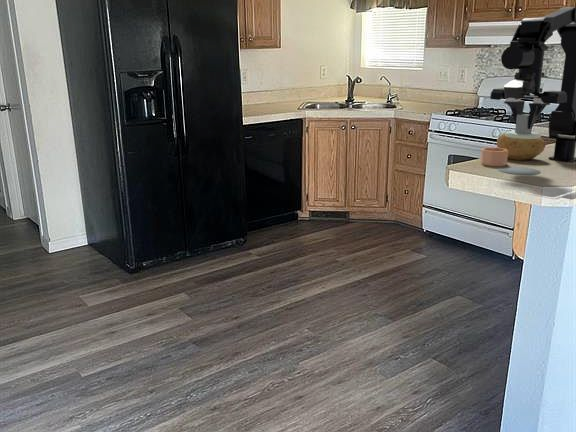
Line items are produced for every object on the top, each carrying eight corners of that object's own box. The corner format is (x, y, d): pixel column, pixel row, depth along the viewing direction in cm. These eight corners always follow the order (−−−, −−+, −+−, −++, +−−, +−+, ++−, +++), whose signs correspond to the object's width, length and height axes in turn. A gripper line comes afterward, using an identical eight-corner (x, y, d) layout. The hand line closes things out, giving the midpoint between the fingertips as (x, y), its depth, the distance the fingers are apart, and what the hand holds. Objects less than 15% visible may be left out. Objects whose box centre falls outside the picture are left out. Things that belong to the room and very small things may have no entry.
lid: (516, 132, 156) (518, 112, 154) (547, 136, 149) (550, 114, 148) (498, 136, 151) (500, 114, 149) (529, 139, 144) (532, 117, 142)
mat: (511, 166, 160) (511, 165, 160) (548, 172, 152) (548, 171, 152) (489, 171, 154) (489, 170, 154) (527, 178, 146) (527, 177, 146)
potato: (537, 165, 162) (540, 138, 160) (490, 159, 171) (492, 133, 169) (548, 160, 169) (551, 134, 167) (502, 155, 178) (504, 130, 176)
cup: (489, 161, 168) (490, 146, 167) (510, 164, 163) (512, 149, 161) (475, 164, 164) (477, 149, 163) (497, 168, 159) (498, 152, 157)
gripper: (481, 68, 147) (476, 127, 152) (549, 70, 133) (541, 135, 138) (504, 67, 154) (498, 124, 158) (572, 68, 140) (563, 130, 144)
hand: (523, 128), depth 150 cm, fingers closed on lid, 3 cm apart
